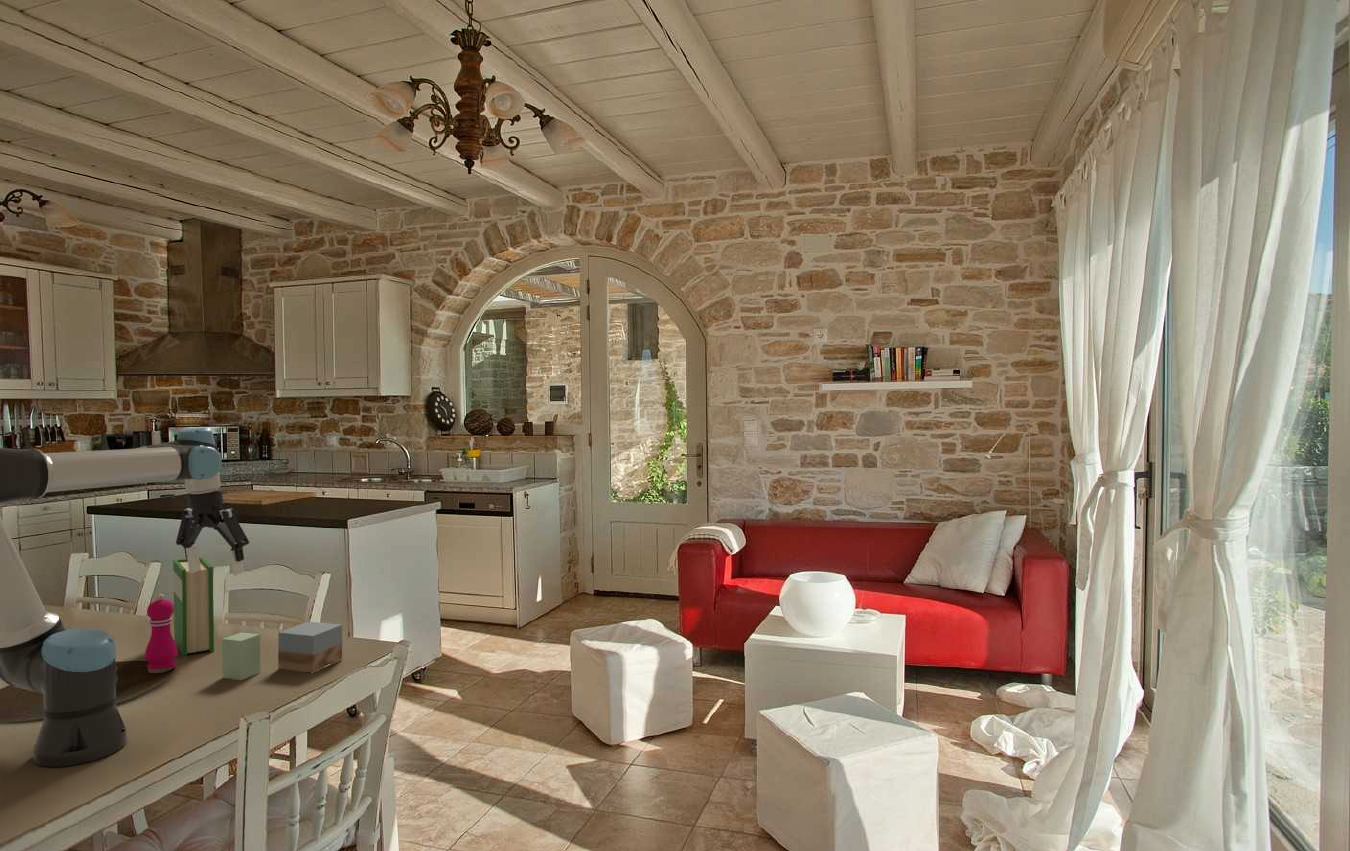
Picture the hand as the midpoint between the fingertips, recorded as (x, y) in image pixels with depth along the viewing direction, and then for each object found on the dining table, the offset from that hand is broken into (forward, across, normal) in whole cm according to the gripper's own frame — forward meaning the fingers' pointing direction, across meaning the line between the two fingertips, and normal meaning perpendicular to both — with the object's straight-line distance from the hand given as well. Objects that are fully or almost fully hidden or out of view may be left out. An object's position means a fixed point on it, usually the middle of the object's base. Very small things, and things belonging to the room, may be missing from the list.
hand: (216, 572), depth 200 cm
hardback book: (+29, +30, -16) cm, 45 cm away
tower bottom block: (+30, -13, -12) cm, 35 cm away
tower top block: (+25, -13, -13) cm, 31 cm away
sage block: (+28, -2, -1) cm, 28 cm away
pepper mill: (+27, +21, +2) cm, 34 cm away
